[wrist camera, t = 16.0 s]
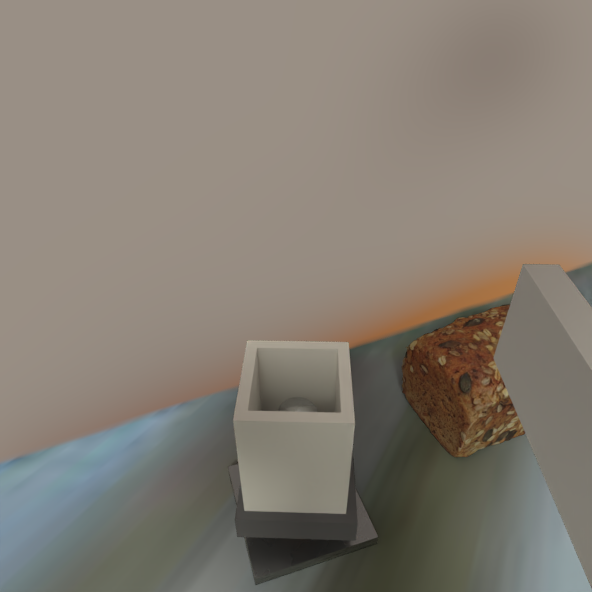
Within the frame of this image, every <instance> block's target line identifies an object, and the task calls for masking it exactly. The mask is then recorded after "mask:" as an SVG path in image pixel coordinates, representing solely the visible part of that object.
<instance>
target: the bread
mask: <svg viewBox="0 0 592 592" xmlns="http://www.w3.org/2000/svg"><path fill="white" fill-rule="evenodd" d="M509 307H510V305H502V306H500V307H495V308H491V309H489V310H487V311H485V312H483V313H479V314H476V315H471V316H469V317H468V318H457V319H456V320H455V321H454V322H453V323H451V324H449V325H447V326H445V327H444V328H439V329H436V330H434V331H433V332H431V333H427V334H424V335H423V336H421V337H419V338H417V340H414V341H413V342H412V343H411V344H410V345H409V346H408V347H406V348H407V352H406V355H405V357H404V359H403V365H402V372H403V378H402V380H403V384H402V388H403V391H402V392H403V393H404V394H405V396H406V399H407V400H408V402H409V404H410V405H411V407H412V408H413V410H414V411H415V412H416V413H417V414H418V416H419V417H420V419H421V420H422V421H423V422H424V423H425V424H426V426H427V427H428V428H429V430H430V432H431V433H432V434H433V435H434V436H435V437H436V439H437V440H438V441H439V443H440V444H441V445H442V446H443V448H444V449H445V450H446V451H447V452H448V453H450V454H451V455H452V456H454V457H468V456H469V455H471V454H473V453H474V452H476V451H477V450H479V449H483V448H485V447H488V446H490V445H491V446H492V445H496V444H499V443H502V442H504V441H508V440H510V439H511V438H515V437H517V436H519V435H524V434H525V431H524V429H523V426H522V424H521V422H520V419H519V417H518V415H517V412H516V410H515V408H514V405H513V403H512V401H511V398H510V396H509V394H508V391H507V389H506V387H505V384H504V382H503V380H502V377H501V375H500V373H499V370H498V368H497V366H496V363H495V361H494V359H493V358H494V355H495V351H496V348H497V345H498V342H499V339H500V336H501V332H502V329H503V326H504V323H505V320H506V317H507V313H508V310H509Z"/></svg>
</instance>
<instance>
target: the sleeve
mask: <svg viewBox="0 0 592 592" xmlns="http://www.w3.org/2000/svg"><path fill="white" fill-rule="evenodd" d="M294 397H302V398H306V399H308V400H310V401H311V402H313V403H314V405H315V406H316V408H317V412H287V411H278V409H279V407H280V405H281V404H282V403H283V402H284V401H285V400H287V399H290V398H294ZM233 424H234V432H235V440H236V448H237V456H238V464H239V472H240V480H241V488H242V496H243V504H244V511H263V512H297V513H330V514H346V510H347V499H348V489H349V479H350V469H351V459H352V449H353V439H354V428H355V417H354V404H353V392H352V379H351V367H350V354H349V343H348V342H313V341H310V342H309V341H259V340H258V341H257V340H247V344H246V350H245V356H244V362H243V367H242V373H241V378H240V384H239V389H238V395H237V401H236V406H235V412H234V418H233Z"/></svg>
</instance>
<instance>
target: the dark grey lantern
mask: <svg viewBox="0 0 592 592" xmlns="http://www.w3.org/2000/svg"><path fill="white" fill-rule="evenodd" d="M278 411H287V412H317V408H316V406H315V405H314V403H313V402H311V401H310V400H308V399H306V398H302V397H294V398H290V399H287V400H285V401H284V402H283V403H282V404H281V405H280V407H279V409H278ZM228 471H229V476H230V480H231V484H232V488H233V492H234V497H235V501H236V505H237V501H238V494H239V487H240V472H239V464H235V465H232V466H228ZM355 491H356V506H357V520H358V525H357V533H356V541H352V540H320V539H289V538H257V537H244V538H245V542H246V546H247V551H248V555H249V559H250V563H251V567H252V571H253V576H254V580H255V584H256V585H257V584H260V583H263V582H266V581H269V580H272V579H275V578H278V577H280V576H283V575H286V574H289V573H292V572H295V571H298V570H301V569H304V568H307V567H310V566H313V565H315V564H318V563H321V562H324V561H327V560H330V559H333V558H336V557H339V556H342V555H345V554H348V553H351V552H353V551H356V550H359V549H362V548H365V547H368V546H371V545H374V544H377V541H378V535H377V533H376V531H375V529H374V527H373V525H372V522H371V520H370V518H369V516H368V514H367V512H366V510H365V507H364V505H363V503H362V501H361V499H360V497H359V495H358V493H357V490H356V488H355Z"/></svg>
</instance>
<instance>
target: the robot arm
mask: <svg viewBox="0 0 592 592" xmlns="http://www.w3.org/2000/svg"><path fill="white" fill-rule="evenodd" d="M493 359H494V361H495V363H496V366H497V368H498V370H499V373H500V375H501V377H502V380H503V382H504V384H505V387H506V389H507V391H508V394H509V396H510V398H511V401H512V403H513V405H514V408H515V410H516V412H517V415H518V417H519V419H520V422H521V424H522V426H523V429H524V431H525V433H526V436H527V438H528V440H529V443H530V445H531V448H532V450H533V452H534V455H535V457H536V459H537V462H538V464H539V466H540V469H541V471H542V473H543V476H544V478H545V480H546V483H547V485H548V487H549V490H550V492H551V494H552V497H553V499H554V501H555V504H556V506H557V508H558V511H559V513H560V515H561V518H562V520H563V522H564V525H565V527H566V529H567V532H568V534H569V537H570V539H571V541H572V544H573V546H574V548H575V551H576V553H577V555H578V558H579V560H580V562H581V565H582V567H583V569H584V572H585V574H586V576H587V579H588V581H589V583H590V586H591V588H592V307H591V306H590V305H589V303H588V302H587V301H586V299H585V298H584V297H583V295H582V294H581V293H580V291H579V290H578V289H577V288H576V286H575V285H574V284H573V282H572V281H571V280H570V278H569V277H568V276H567V274H566V273H565V272H564V270H563V269H562V268H561V267H560V265H548V264H523V266H522V269H521V272H520V275H519V279H518V282H517V285H516V288H515V291H514V294H513V298H512V301H511V304H510V307H509V310H508V313H507V317H506V320H505V323H504V326H503V329H502V332H501V336H500V339H499V342H498V345H497V348H496V351H495V355H494V358H493Z"/></svg>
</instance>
